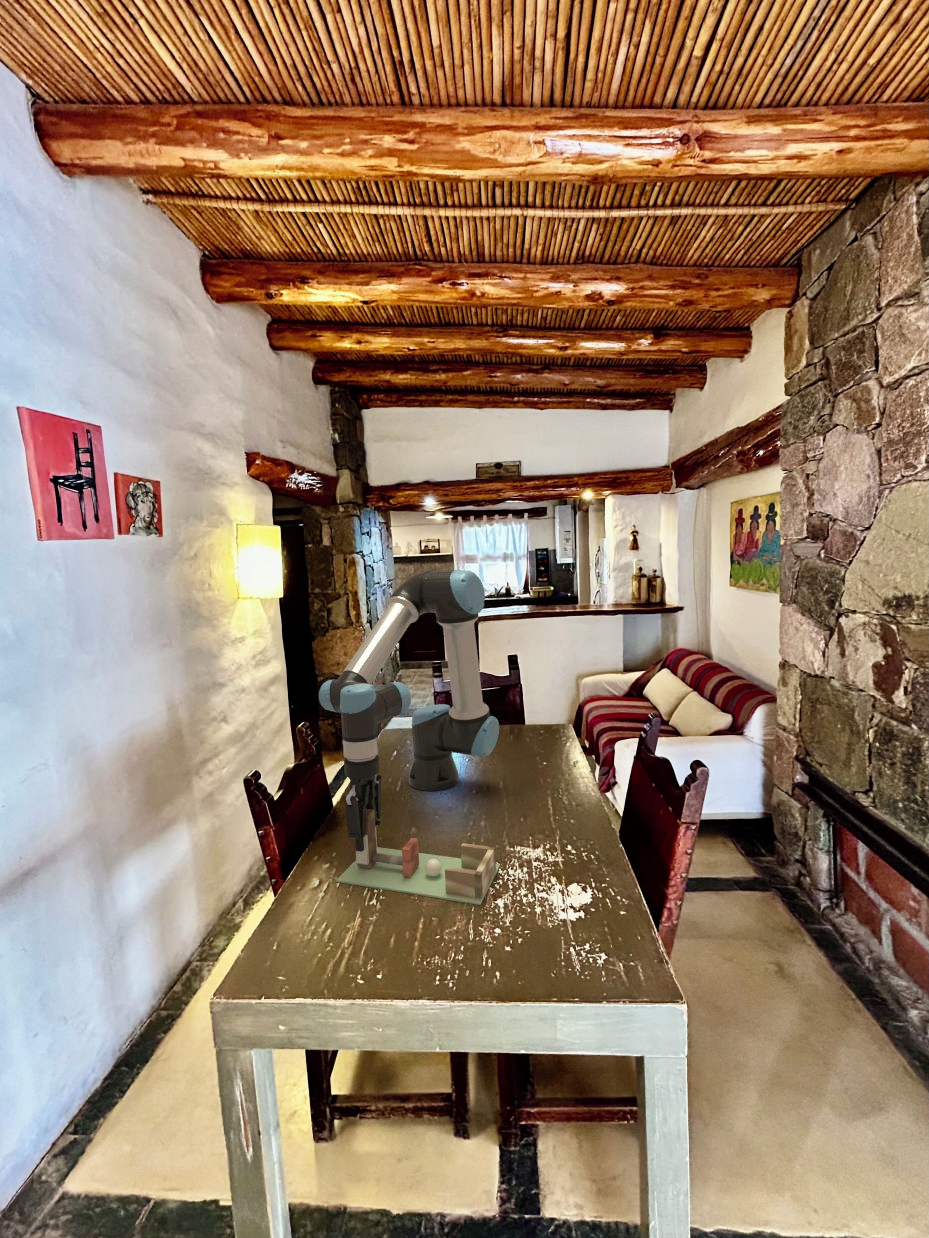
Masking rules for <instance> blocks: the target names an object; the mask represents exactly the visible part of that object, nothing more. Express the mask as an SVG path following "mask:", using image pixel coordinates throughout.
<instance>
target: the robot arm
mask: <svg viewBox="0 0 929 1238" xmlns="http://www.w3.org/2000/svg"><path fill="white" fill-rule="evenodd" d="M485 593H486V591H485V588H484V584H483V582H482V580H481V579H480V577H479V576H478V575H477V574H476V573H475V572H473V571H472V570H462V569H450V570H449V569H446V570H445V569H444V570H423V571H421V572H417V573H416V574H414V575H411V576H410V577H409V578H408V579H406V580H405V581H404V582H402V583H401V584H400V585H399V586H398V587H397V588H396V589H395V590H394V591H393V593H392V594H391V596H390V597H389V598H388V600H387V601H386V609H385V610H384V612H383V613H382V614H381V616H380V618H379V619H378V620H377V621H376V623H375V625H374V626H373V628H372V629H371V630H370V632H369V634H368V635H367V636H366V638H365V639H364V641H362V644H361V645H360V646H359V648H358V649H357V651H356V652H355V654H354V655H353V656H352V657H351V659H350V661H349V662H348V663H347V665H346V667H345V668H344V669H343V671H342V673H341V674H340V675H339V677H338V678H337V679H335V678H334V679H328V680H327V681H325V682H324V683H322V684H321V686H320V689H319V692H318V699H319V704H320V705H321V707H322V708H323V709H324V710H326V711H330V712H335V713H337V714H338V713H339V714H340V718H341V719H340V720H341V731H342V746H343V747H342V748H343V756H344V759H343V769H344V771H343V772H344V775H345V776H346V777H347V778H348V779H349V780H350V782H349V792H348V794H344V795H342V801H343V804H344V808H345V809H344V810H345V817H346V825H347V826H346V827H347V835H348V837H349V838H353V839H354V844H355V848H354V849H355V860H356V863H359V864H366V865H368V864H369V851H368V835H366V834H365V822H366V809H373V810H374V814H375V831H376V832H377V826H378V827H379V826H381V820H380V819H381V817H382V804H381V803H382V801H381V800H382V799H381V798H382V797H381V796H382V795H381V793H382V792H381V790H382V789H381V785H382V775H381V774H379V772H380V757H379V755H378V754H379V739H378V738H379V737H378V724H379V723H381V722H384V721H386V720H389V719H391V718H393V717H397V716H399V715H401V714H402V713H404V712H405V711H407V710H408V709H409V707H410V706H411V703H412V695H411V692H410V690H409V688H408V687H407V685H405V683H402V682H400V681H393V682H387V684H379V683H377V684H376V683H373V682H374V680H375V678H376V677H377V675H378V674H379V672H380V671H381V669H382V668H383V666H384V665H385V663H386V661H387V660H388V658H389V657H390V655H391V654H392V652H393V651H394V649H395V648H396V646H397V644H398V642H399V641H400V640H401V638H402V637H403V635H404V633H405V632H406V631H407V629H408V628H409V626H410V625H411V624H412V623H415V622H416V621H418V619H419V617H420V616H421V615H423V614H427V613H430V614H431V613H432V614H433V613H434V614H435V616H436V623H438V624H439V625H440V626H441V627H442V629H443V635H444V636H443V637H444V644H445V653H446V660H447V668H448V676H449V684H450V691H451V699H452V700H451V701H452V706H450V705H449V704H443V703H441V704H440V703H439V704H438V703H437V704H432V705H427V706H426V705H425V706H423V707H420V708H418V709H415V710H414V711H413V712H412V715H411V729H412V731H411V733H412V748H413V750H412V751H413V760H412V763H411V766H410V770H409V775H408V783H409V784H408V785H409V786H410V787H411V788H414V789H416V790H417V791H418V790H419V791H423V792H425V791H426V792H434V791H437V792H438V791H442V790H443V791H444V790H447V789H451V788H453V787H454V786H456V785H457V784H458V783H459V779H460V778H459V770H458V768H457V764H456V762H455V760H454V757H453V753H455V754H461V755H468V756H471V757H483V758H484V757H486V756H489V755H490V754H491V753H492V752H493V750H494V749H495V747H496V744H497V741H498V739H499V733H500V723H499V720H498V719H497V718H496V717H495V716H493V715H491V713H490V708H489V706H488V705H487V704H486V703H485V702H484V701H483V692H482V690H483V689H482V684H481V673H480V665H479V656H478V649H477V640H476V631H475V622H476V621H477V620H478V619H479V613H481V612H482V610H483V609H484V607H485V600H486V594H485ZM377 838H378V837H377V835H376V849H377V847H378V839H377Z"/></svg>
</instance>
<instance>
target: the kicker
mask: <svg viewBox="0 0 929 1238" xmlns="http://www.w3.org/2000/svg"><path fill="white" fill-rule="evenodd" d="M365 834H366V835H368V851H369V864H368V865H366V864H359V863H357V866H358V867H364V868H371V867H372V866H373V865H374V864H375V863H376V862H381V863H387V864H394V865H401V866H403V876H407V877H410V876H411V875H412V874H413V872H414V871H415V870H416V868H417V867H418V866H419V853H420V851H419V839H418V838H415V837H411V838H410V839H409V840H408V841H407V842H406V843H405V844H404V846H403V847H402V848H401V850H402V856H395V855H388V854H380V853H377V849H376V836H377V830H376V831H375V814H374V810H373V809H366V822H365Z"/></svg>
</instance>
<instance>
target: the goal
mask: <svg viewBox="0 0 929 1238" xmlns="http://www.w3.org/2000/svg"><path fill="white" fill-rule="evenodd" d="M460 855H461V856H460V859H461V864H462V868H467V869H474V870H476V871H473V870H466V869H459V868H452V867H446V869H445V885H446V893H447V894H453V895H460V896H466V897H472V898H479V899H481V898H482V896H483V894H484V892H485V890H486V888H487V886H488V884H489V882H490V880H491V878H492V876H493V874H494V872H495V870H496V863H497V861H496V860H497V859H496V847H495V846H488V845H481V844H478V845H477V844H470V843H463V842H462V844H461V845H460Z"/></svg>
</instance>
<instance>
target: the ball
mask: <svg viewBox="0 0 929 1238" xmlns="http://www.w3.org/2000/svg"><path fill="white" fill-rule="evenodd" d="M441 869H442V866H441V863H440V861H438V860H437V859H430V860H429V861H428V862H427V863H426V865H425V870H426V873H427V874H428V875H429V876H433V877H434V876H437V875H439V873H440V872H441Z"/></svg>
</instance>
